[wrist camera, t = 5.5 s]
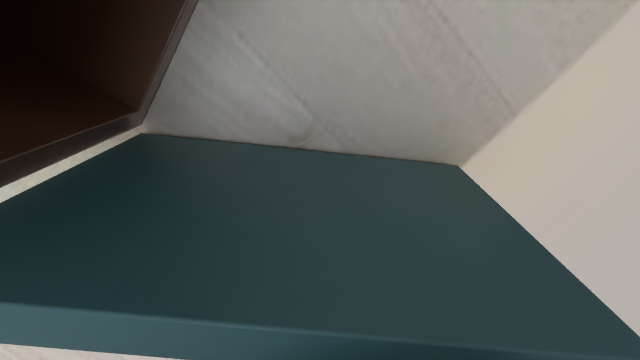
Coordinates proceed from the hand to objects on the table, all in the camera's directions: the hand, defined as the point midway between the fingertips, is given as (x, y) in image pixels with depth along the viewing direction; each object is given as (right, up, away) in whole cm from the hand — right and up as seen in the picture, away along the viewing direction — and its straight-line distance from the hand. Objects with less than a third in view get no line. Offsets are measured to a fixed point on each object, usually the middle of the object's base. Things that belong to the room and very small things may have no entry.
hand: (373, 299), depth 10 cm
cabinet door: (-3, +2, +4) cm, 5 cm away
